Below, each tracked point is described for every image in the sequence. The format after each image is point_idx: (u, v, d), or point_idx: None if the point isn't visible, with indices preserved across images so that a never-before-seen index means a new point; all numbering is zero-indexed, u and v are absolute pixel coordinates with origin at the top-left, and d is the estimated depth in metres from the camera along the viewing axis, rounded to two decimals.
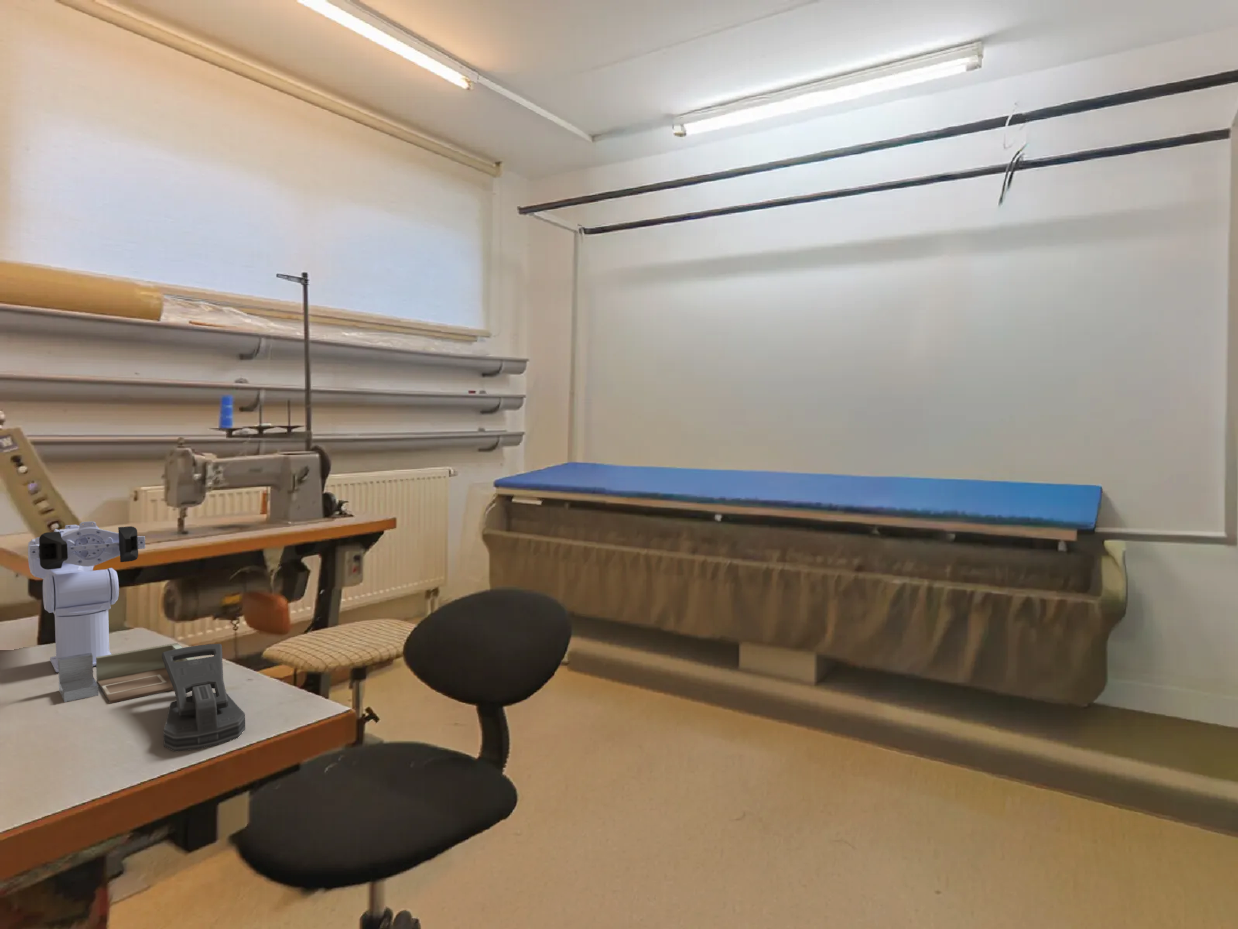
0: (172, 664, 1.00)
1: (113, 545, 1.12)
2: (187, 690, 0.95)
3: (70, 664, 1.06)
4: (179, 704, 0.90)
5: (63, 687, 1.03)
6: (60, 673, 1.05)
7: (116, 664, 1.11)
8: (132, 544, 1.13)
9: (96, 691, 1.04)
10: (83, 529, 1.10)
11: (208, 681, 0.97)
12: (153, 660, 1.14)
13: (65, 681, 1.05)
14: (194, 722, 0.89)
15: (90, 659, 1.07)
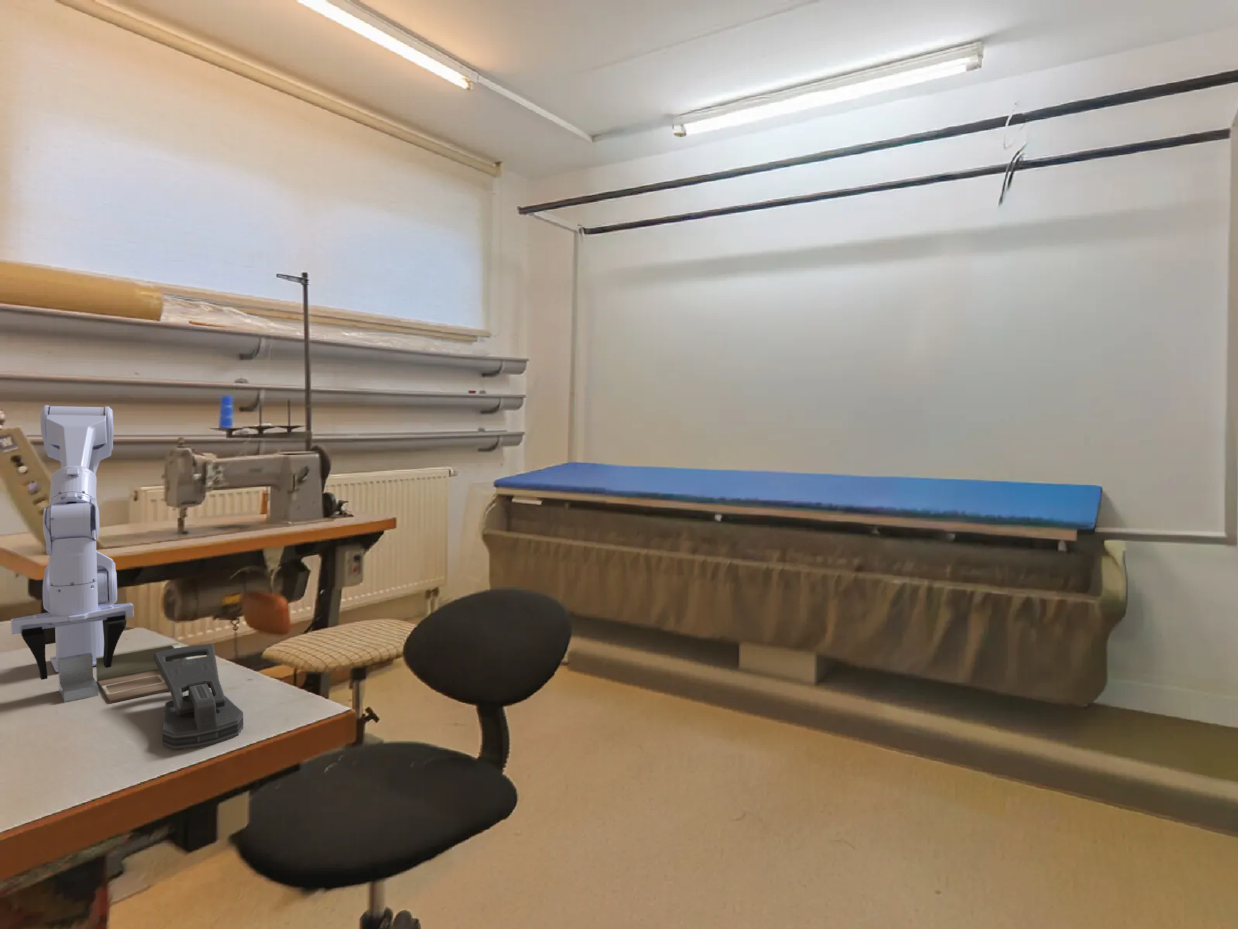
0: (165, 664, 1.00)
1: (99, 620, 1.08)
2: (183, 690, 0.95)
3: (70, 664, 1.06)
4: (176, 704, 0.90)
5: (63, 687, 1.03)
6: (60, 673, 1.05)
7: (116, 664, 1.11)
8: None
9: (96, 691, 1.04)
10: None
11: (203, 681, 0.97)
12: (153, 660, 1.14)
13: (65, 681, 1.05)
14: (192, 721, 0.89)
15: (90, 659, 1.07)
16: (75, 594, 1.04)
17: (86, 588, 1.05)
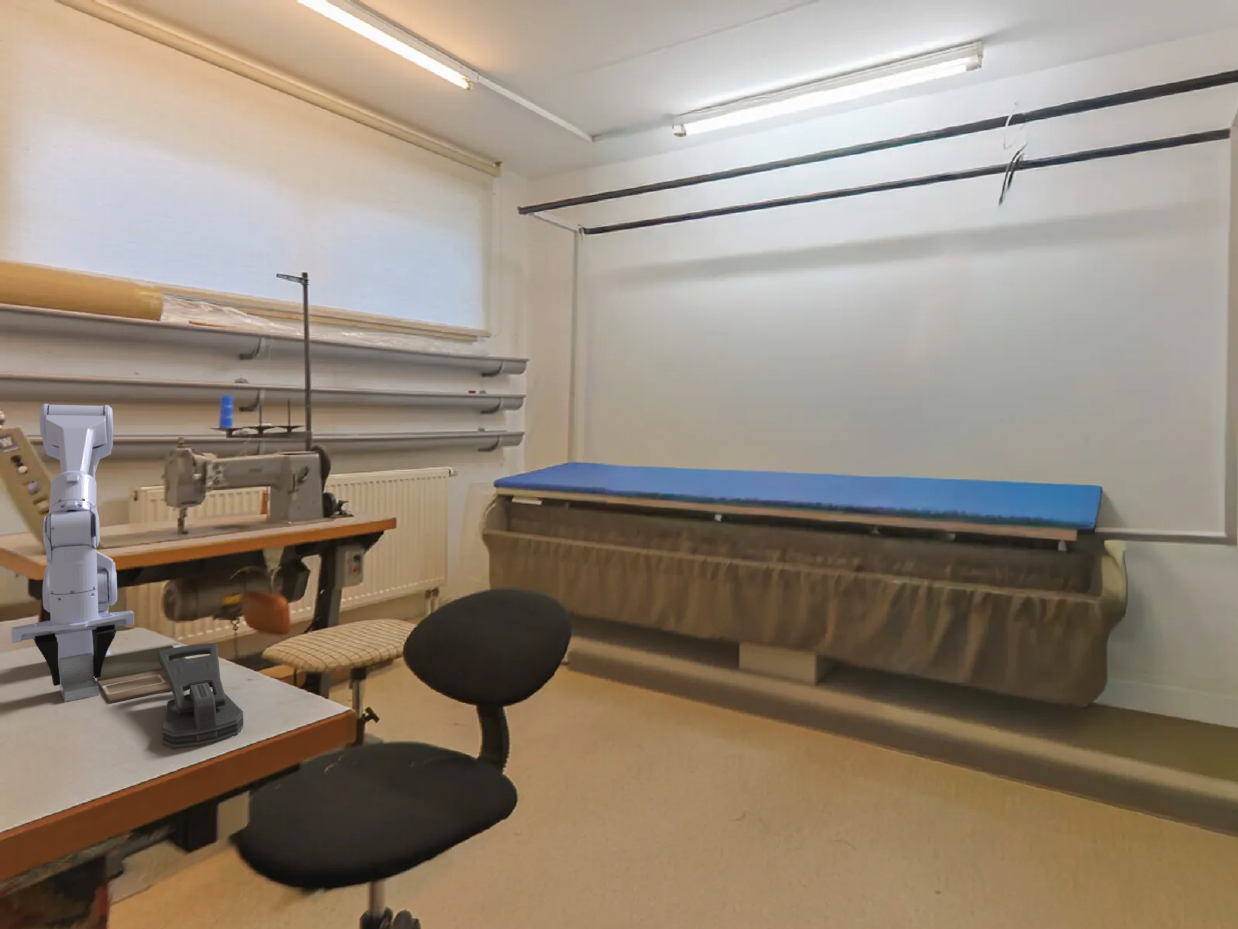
0: (168, 663, 1.01)
1: None
2: (184, 689, 0.95)
3: (71, 664, 1.06)
4: (177, 702, 0.91)
5: (64, 687, 1.03)
6: (61, 673, 1.05)
7: (116, 664, 1.11)
8: None
9: (97, 691, 1.04)
10: None
11: (205, 679, 0.97)
12: (153, 660, 1.14)
13: (66, 681, 1.05)
14: (193, 720, 0.89)
15: (91, 659, 1.07)
16: (76, 602, 1.03)
17: (86, 596, 1.05)
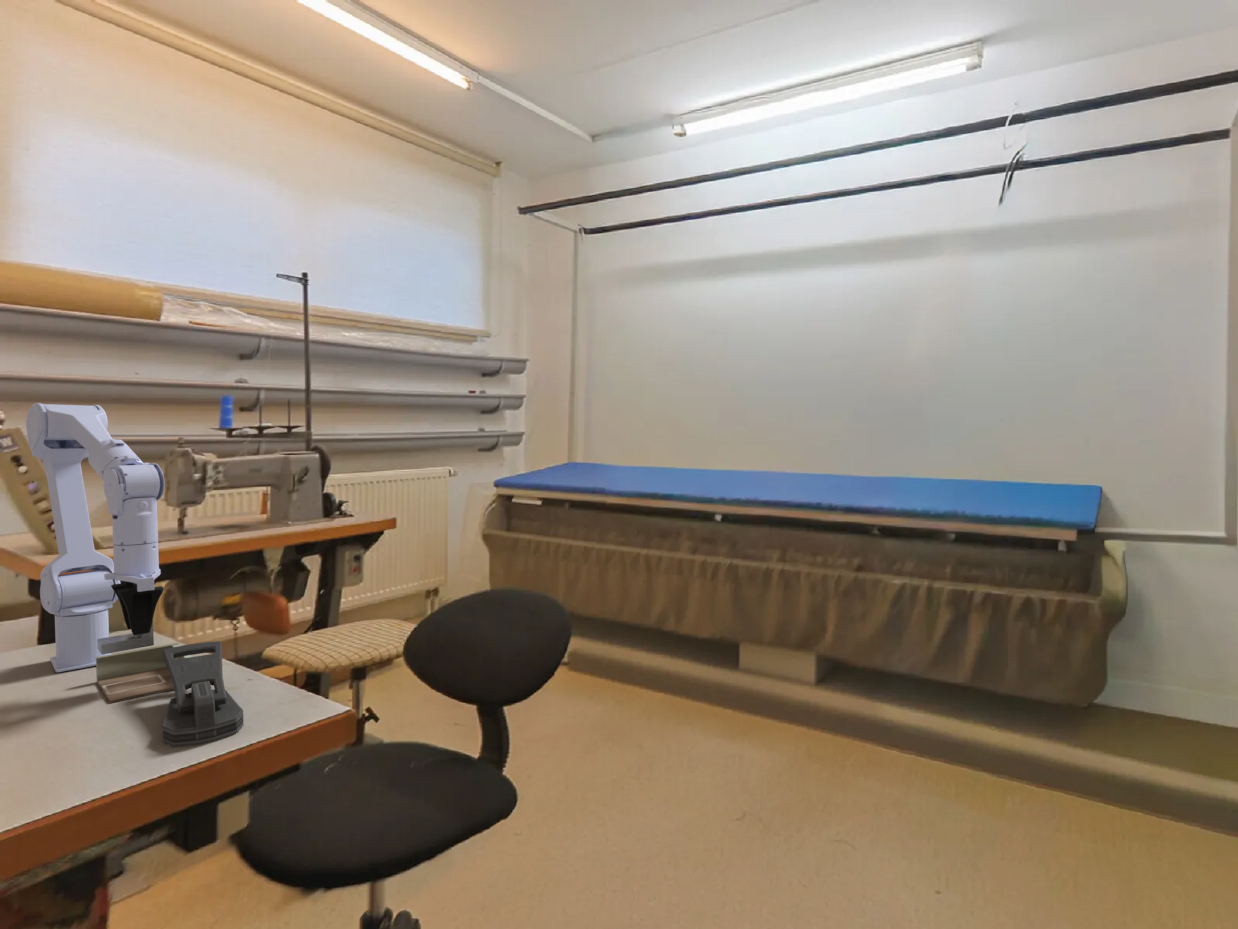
0: (172, 661, 1.02)
1: None
2: (187, 687, 0.96)
3: None
4: (178, 700, 0.91)
5: None
6: None
7: (116, 664, 1.11)
8: None
9: (101, 649, 1.03)
10: None
11: (207, 678, 0.98)
12: (153, 660, 1.14)
13: None
14: (193, 718, 0.90)
15: None
16: (113, 553, 1.06)
17: (117, 550, 1.05)
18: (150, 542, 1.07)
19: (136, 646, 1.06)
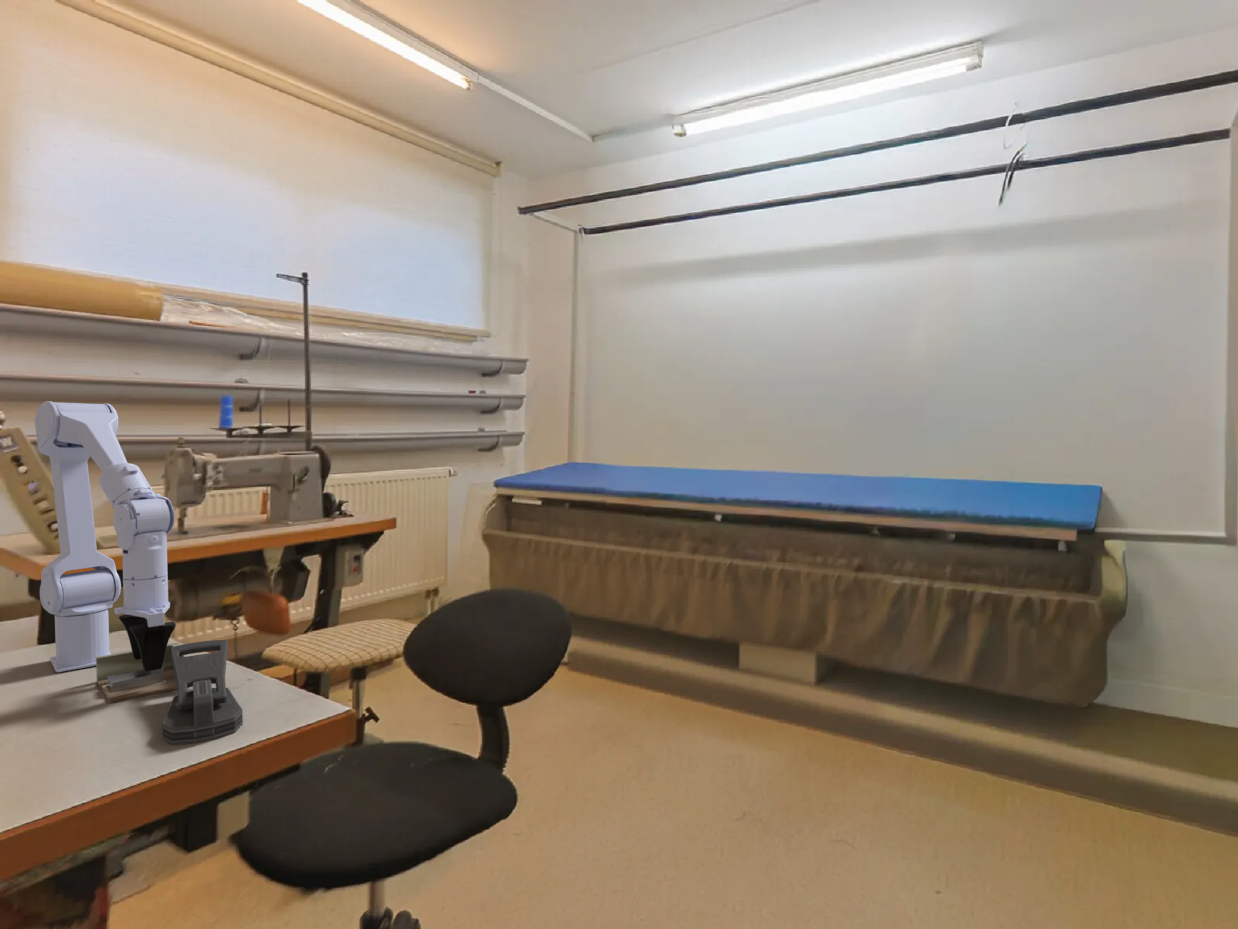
0: (177, 659, 1.03)
1: None
2: (189, 685, 0.97)
3: None
4: (179, 698, 0.92)
5: (127, 672, 1.08)
6: None
7: (116, 664, 1.11)
8: (155, 629, 1.04)
9: (112, 688, 1.04)
10: None
11: (209, 676, 0.98)
12: None
13: None
14: (192, 717, 0.90)
15: None
16: (123, 587, 1.06)
17: (127, 584, 1.05)
18: (160, 576, 1.07)
19: (146, 683, 1.07)
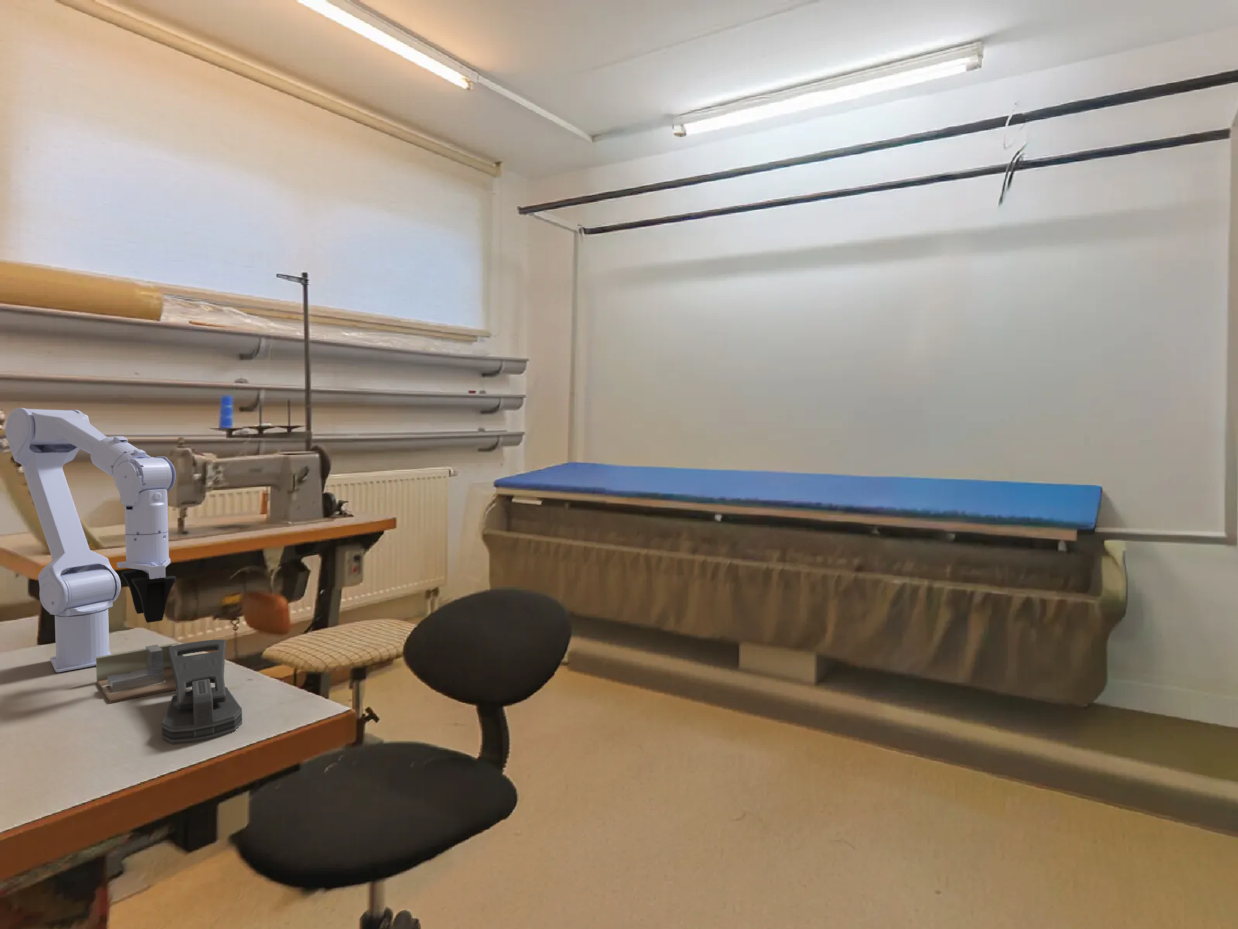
0: (176, 659, 1.03)
1: None
2: (188, 684, 0.97)
3: (147, 654, 1.09)
4: (178, 698, 0.92)
5: (127, 672, 1.08)
6: None
7: (116, 664, 1.11)
8: None
9: (112, 688, 1.04)
10: None
11: (208, 676, 0.99)
12: None
13: (147, 668, 1.09)
14: (192, 716, 0.91)
15: (151, 656, 1.07)
16: None
17: (129, 539, 1.09)
18: (161, 532, 1.11)
19: (146, 683, 1.07)
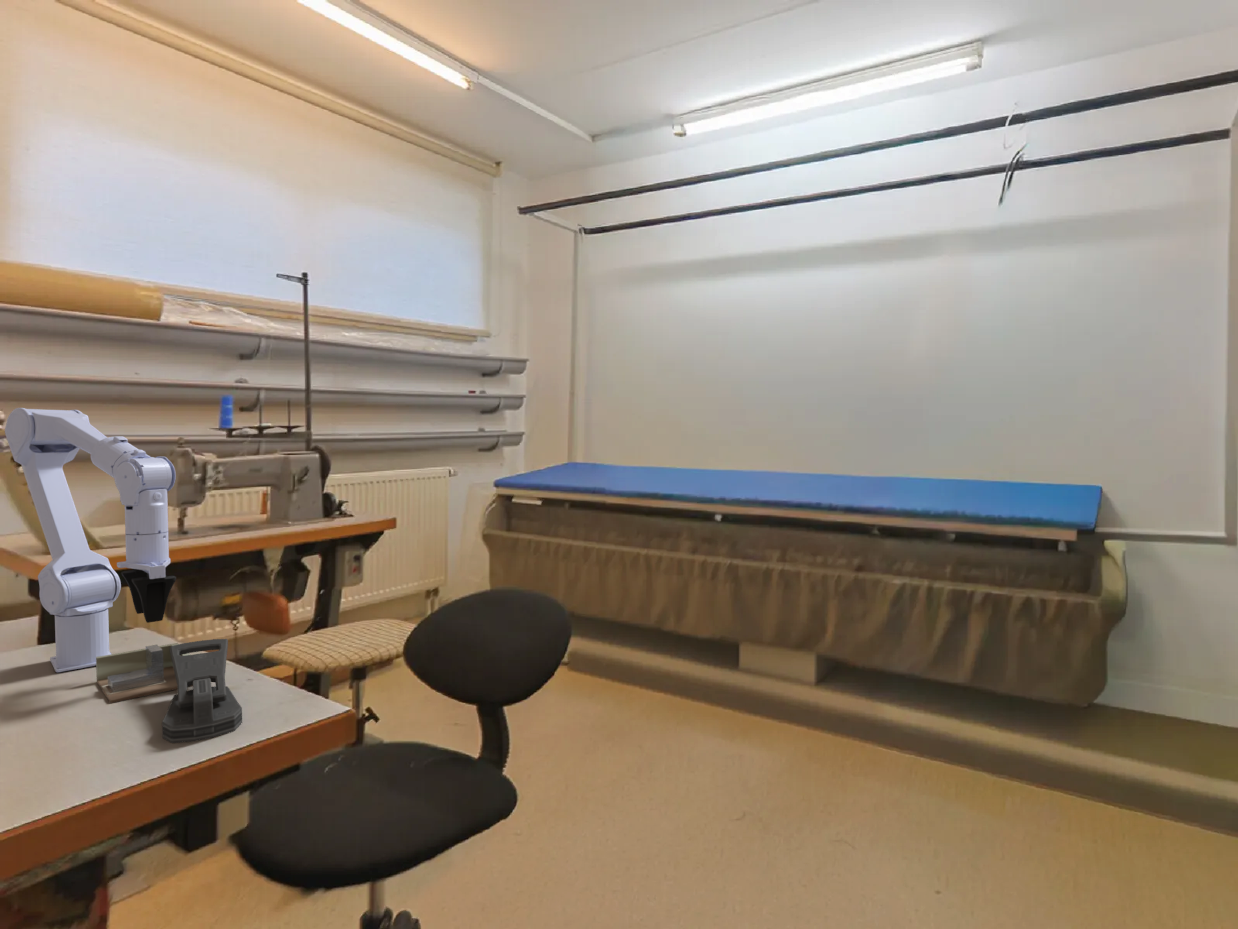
0: (178, 658, 1.03)
1: None
2: (189, 683, 0.97)
3: (147, 654, 1.09)
4: (179, 697, 0.93)
5: (127, 672, 1.08)
6: None
7: (116, 664, 1.11)
8: None
9: (112, 688, 1.04)
10: None
11: (209, 675, 0.99)
12: None
13: (147, 668, 1.09)
14: (192, 715, 0.91)
15: (151, 656, 1.07)
16: None
17: (129, 539, 1.09)
18: (161, 532, 1.11)
19: (146, 683, 1.07)
